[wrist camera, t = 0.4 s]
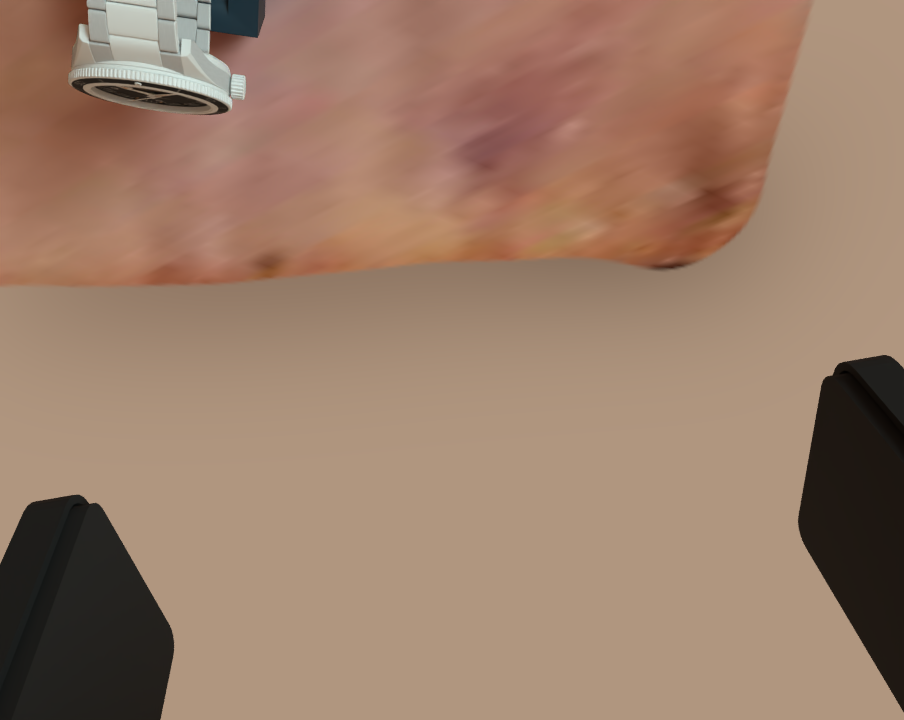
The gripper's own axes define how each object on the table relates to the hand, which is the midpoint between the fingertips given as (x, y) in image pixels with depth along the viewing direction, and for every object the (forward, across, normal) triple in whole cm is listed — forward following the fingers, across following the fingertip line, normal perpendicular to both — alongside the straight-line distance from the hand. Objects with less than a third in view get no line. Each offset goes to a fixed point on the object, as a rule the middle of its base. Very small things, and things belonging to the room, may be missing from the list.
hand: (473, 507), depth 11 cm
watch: (+28, +7, -3) cm, 29 cm away
